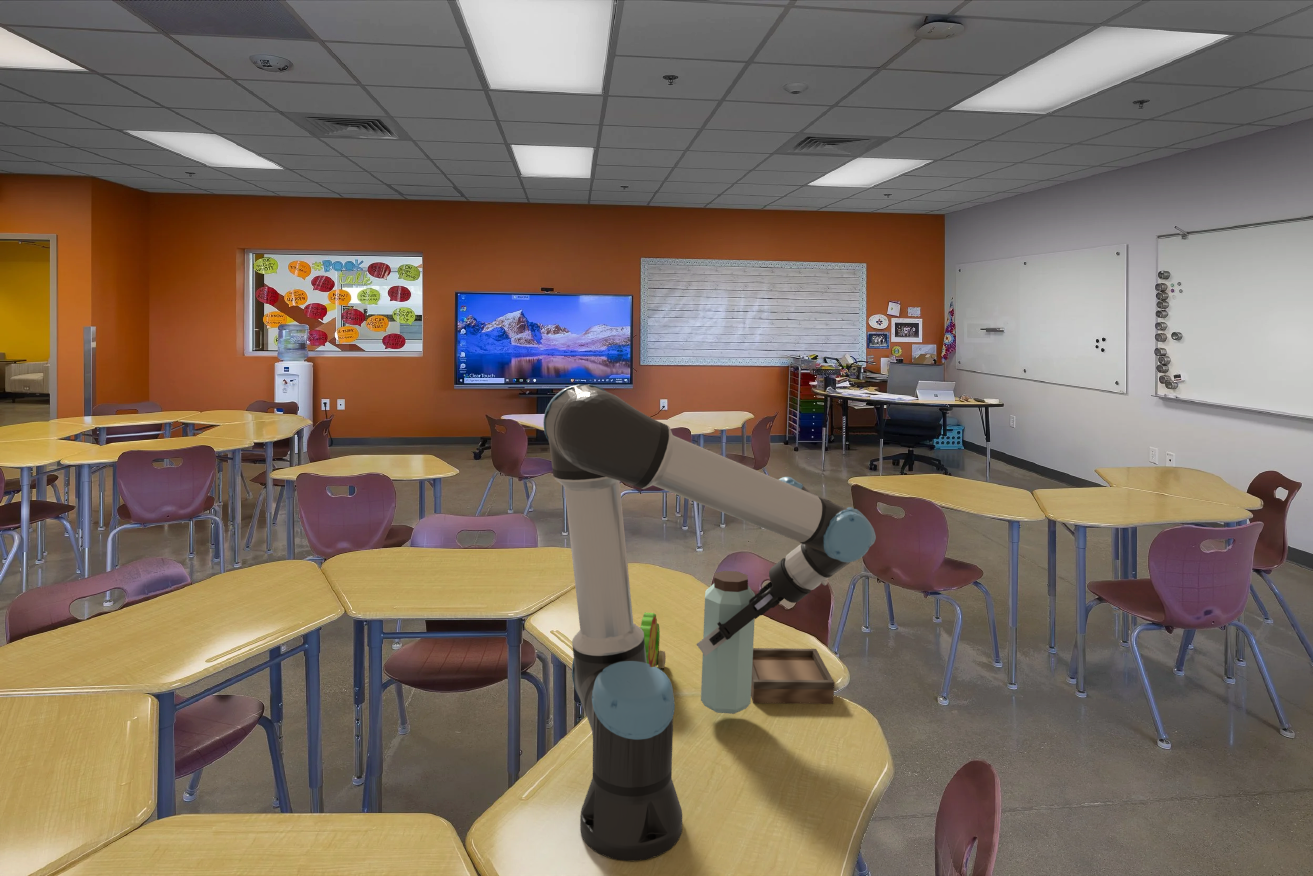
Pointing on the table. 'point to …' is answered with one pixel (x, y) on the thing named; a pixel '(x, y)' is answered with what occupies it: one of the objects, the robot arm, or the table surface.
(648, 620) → the toy lion
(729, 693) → the water bottle
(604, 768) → the robot arm
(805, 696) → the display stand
